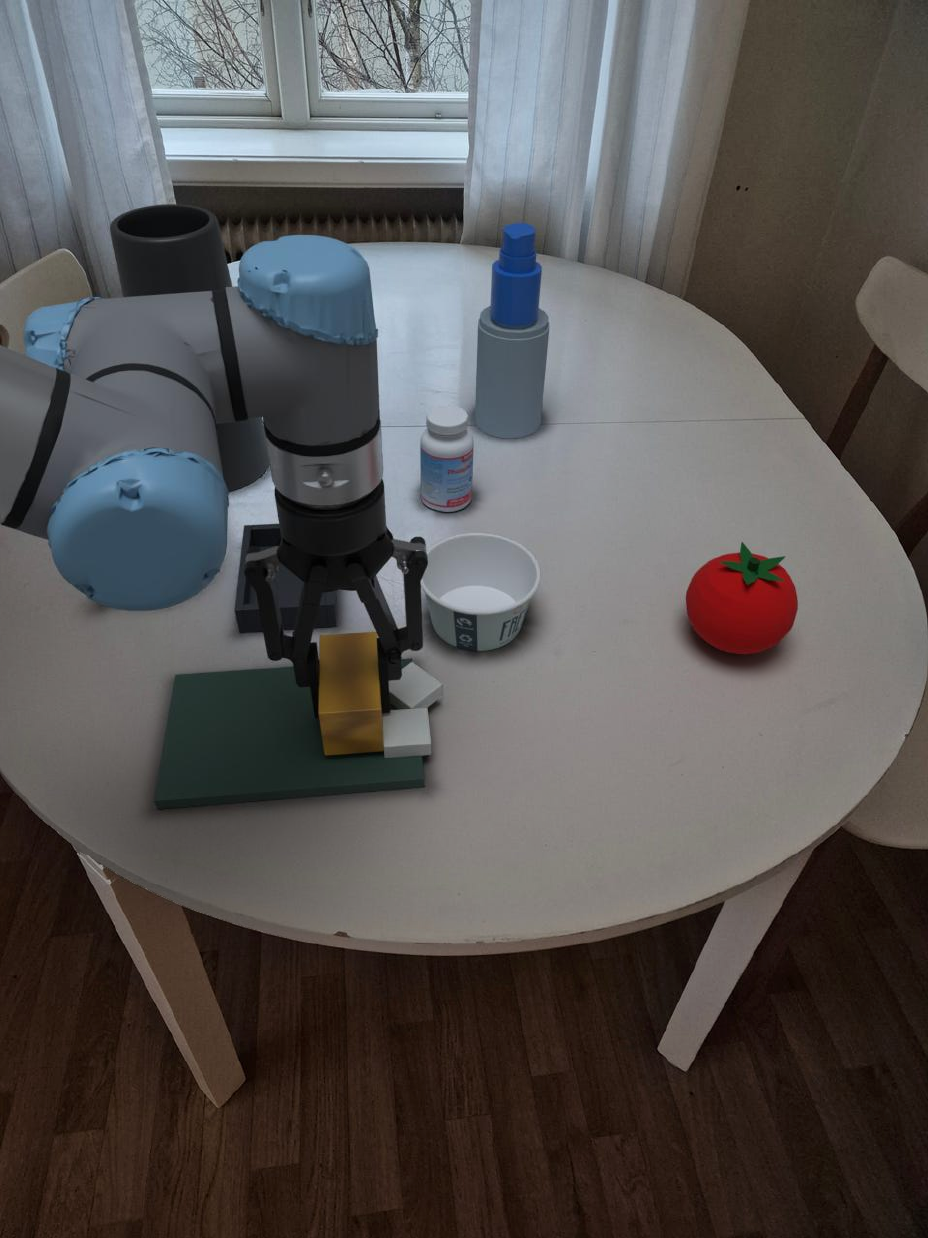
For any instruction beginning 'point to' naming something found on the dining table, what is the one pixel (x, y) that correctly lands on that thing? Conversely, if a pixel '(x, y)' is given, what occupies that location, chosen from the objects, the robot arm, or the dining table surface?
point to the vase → (182, 263)
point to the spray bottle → (512, 341)
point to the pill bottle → (446, 459)
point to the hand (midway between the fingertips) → (352, 703)
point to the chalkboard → (260, 744)
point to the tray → (286, 587)
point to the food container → (479, 589)
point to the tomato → (742, 602)
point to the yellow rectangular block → (350, 694)
